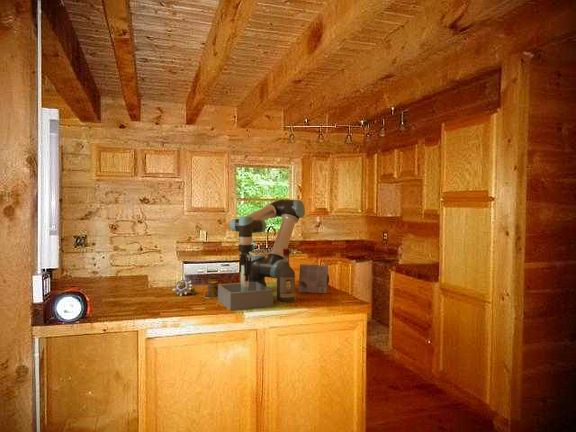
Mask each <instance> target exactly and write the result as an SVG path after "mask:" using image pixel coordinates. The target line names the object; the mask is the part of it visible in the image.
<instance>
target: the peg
mask: <svg viewBox="0 0 576 432" xmlns="http://www.w3.org/2000/svg"><path fill="white" fill-rule="evenodd" d="M243 274H244V265H241V272H240V283H241V292H248V287H244V275H243Z"/></svg>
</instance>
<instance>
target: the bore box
mask: <svg viewBox="0 0 576 432" xmlns="http://www.w3.org/2000/svg"><path fill="white" fill-rule="evenodd" d="M217 301H218V302H219V303H220V304H221V305H223V306H224V307H225V308H227V310H229V311H231V312H232V311H241V310H249V309H259V308H268V307H274V306H273V305H274V290H273V289H272V288H270V287H268V286H267V287H266V286H264V285H262V284H260V283H258V282H249V287H248V292H241V282H240V283H239V282H238V283H227V284H226V283H225V284H218V297H217Z"/></svg>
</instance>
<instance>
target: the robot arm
mask: <svg viewBox="0 0 576 432" xmlns="http://www.w3.org/2000/svg"><path fill="white" fill-rule="evenodd" d="M305 213H306V207H305V204H304V202H303V201H302V200H301V199H278V200H276V201H272V202H270V203H268V204H266V205H265V206H264V207H263V208H261V209H258V210H256V211H254V212H251V213H249V214H247V215H245V216H240V217H239V218H233V219H231V220H230V222H229V228H230V230H231V231H232V232H236V233H238V238H237V240H238V252H240V253H241V254H239V256H238V257H239V272H240V273H241V265H244V274H243V275H244V287H249V282H258V283H260V284H262V285H264V286H266V287H268V286H267V283H266V278H271V279H277V272H278V270H279V269H280V268H281V267H282V266H283V249H288V247H289V243H290V241H291V237H292V235H293V231H294V228H295V225H296V224H297V223H299V220H300V219H302V218H304V217H305ZM274 218H281V219H282V220H281V223H280V227H279V228H278V231H277V236H276V238H275V241H274V244H273V247H272V250H271V251H270V252H269V253H268V255H267V257H266V255H265V254H262V255H261V254H260V255H258V254H257V255H250V252H252V251H253V245H252V244H253V234H255V233H256V234H261V233H265V231H266V230H267V222H266V220H268V219H274Z"/></svg>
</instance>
